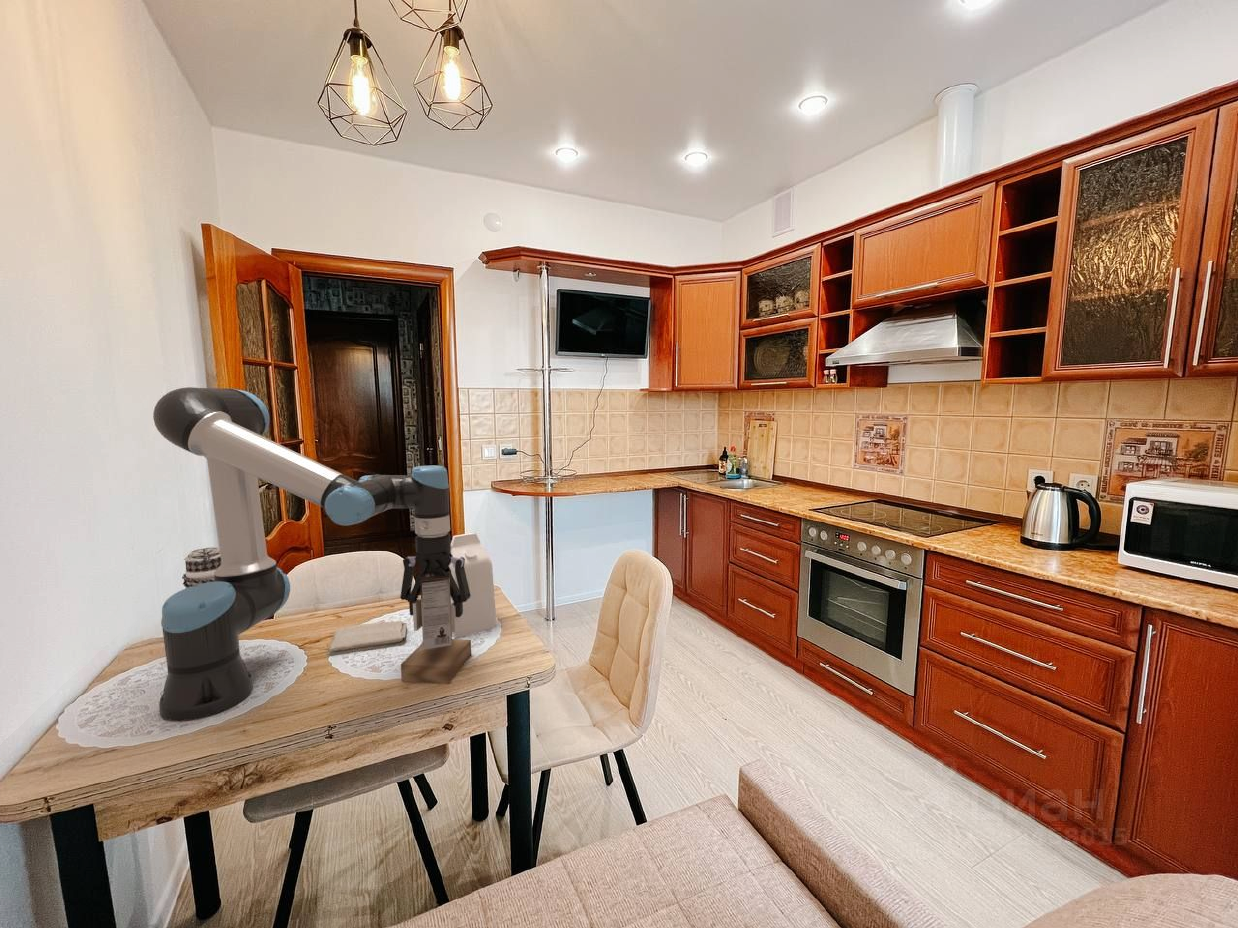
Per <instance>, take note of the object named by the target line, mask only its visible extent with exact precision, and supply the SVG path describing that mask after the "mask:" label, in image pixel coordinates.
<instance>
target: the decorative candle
mask: <svg viewBox="0 0 1238 928" xmlns="http://www.w3.org/2000/svg"><path fill="white" fill-rule="evenodd" d="M187 555H188V556H186V557H184V559H183V561H185V573H183V575H182V577H181V578H182V579H183V582H182V585H183V586H184V587H185V588H184V589H186V588H188V587H191V586H197V585H198V584H202V583H207V582H215V576H214V572H215V571H216V570H217V568H218V567H219V566H220V565H221V557H220V549H219V547H205V548H204V547H203V548H199V549H198V548H197V549H195V550H193V551H191V552H190V553H188V554H187Z"/></svg>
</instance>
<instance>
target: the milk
mask: <svg viewBox="0 0 1238 928" xmlns="http://www.w3.org/2000/svg"><path fill="white" fill-rule="evenodd" d="M451 554H452V556H453V557H455V558H461V557H464V558H465V563H464V569H465V573H466V578H467V582H468V586H469V591H470V595H471V596H470V598H469V599H468V600H467V601H466V602H463V614H462V615H461V616H460V617H459V619H460V628H459V629H458V630H457V631H456V632H452V639H460V638H463V637H466V636H469V635H472V634H475V633H479V632H483V631H486V630H489V629H493V628H497V627H498V624H497V614H496V613H497V612H496V601H495V585H494V584H495V583H494V573H493V562H492V560H491V558H490V556H489V554H488V552H487V550H486V549H485V548H484V545H483V544H482V543H481V541H480V538H479V537H478V535H477V533H475V532H469V533H462V534H457V535H453V537H452V540H451ZM449 567H450V569H451V574H452V576H453V578H454V580H455V582H456V584H457V586H458V582H457V578H456V574H455V568H454V567H453V564H452V563H450V565H449ZM458 588H459V587H458ZM452 603H453V600H452V598H451V604H452ZM451 625H452V621H451Z"/></svg>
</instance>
